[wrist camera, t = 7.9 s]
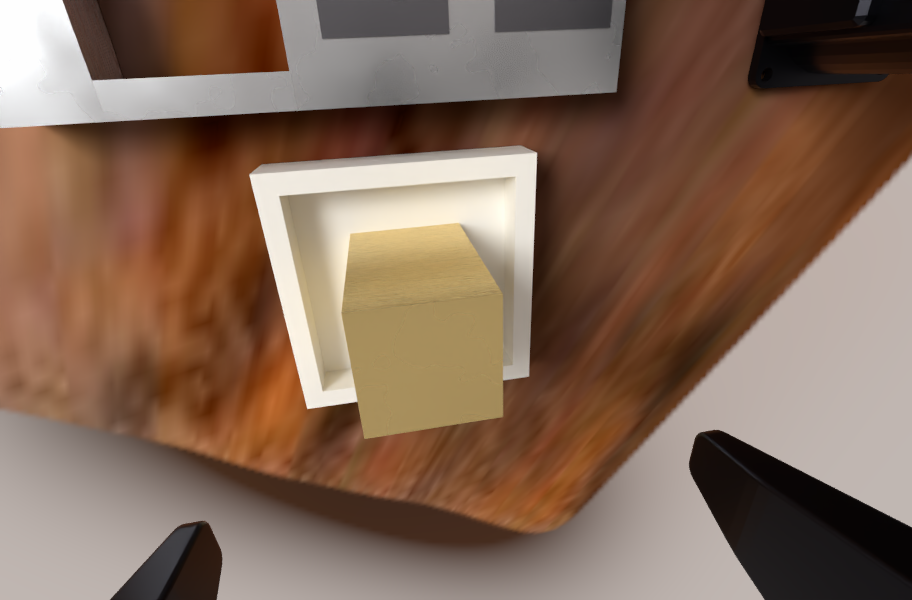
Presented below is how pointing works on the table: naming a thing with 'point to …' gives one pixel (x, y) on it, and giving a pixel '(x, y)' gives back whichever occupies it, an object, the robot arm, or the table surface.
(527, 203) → the tray
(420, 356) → the wood grain block
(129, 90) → the grey flat plate
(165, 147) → the table surface
